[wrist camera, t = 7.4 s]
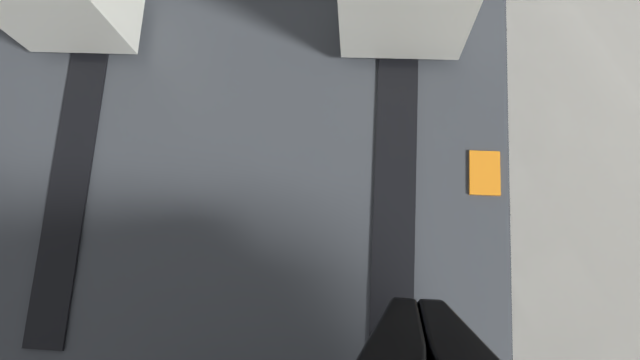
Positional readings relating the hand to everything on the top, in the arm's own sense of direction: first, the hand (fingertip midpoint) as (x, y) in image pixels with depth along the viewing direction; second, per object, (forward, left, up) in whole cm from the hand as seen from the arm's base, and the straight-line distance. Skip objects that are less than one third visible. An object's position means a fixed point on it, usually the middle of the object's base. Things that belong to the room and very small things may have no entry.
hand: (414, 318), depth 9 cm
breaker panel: (0, +6, -8) cm, 10 cm away
